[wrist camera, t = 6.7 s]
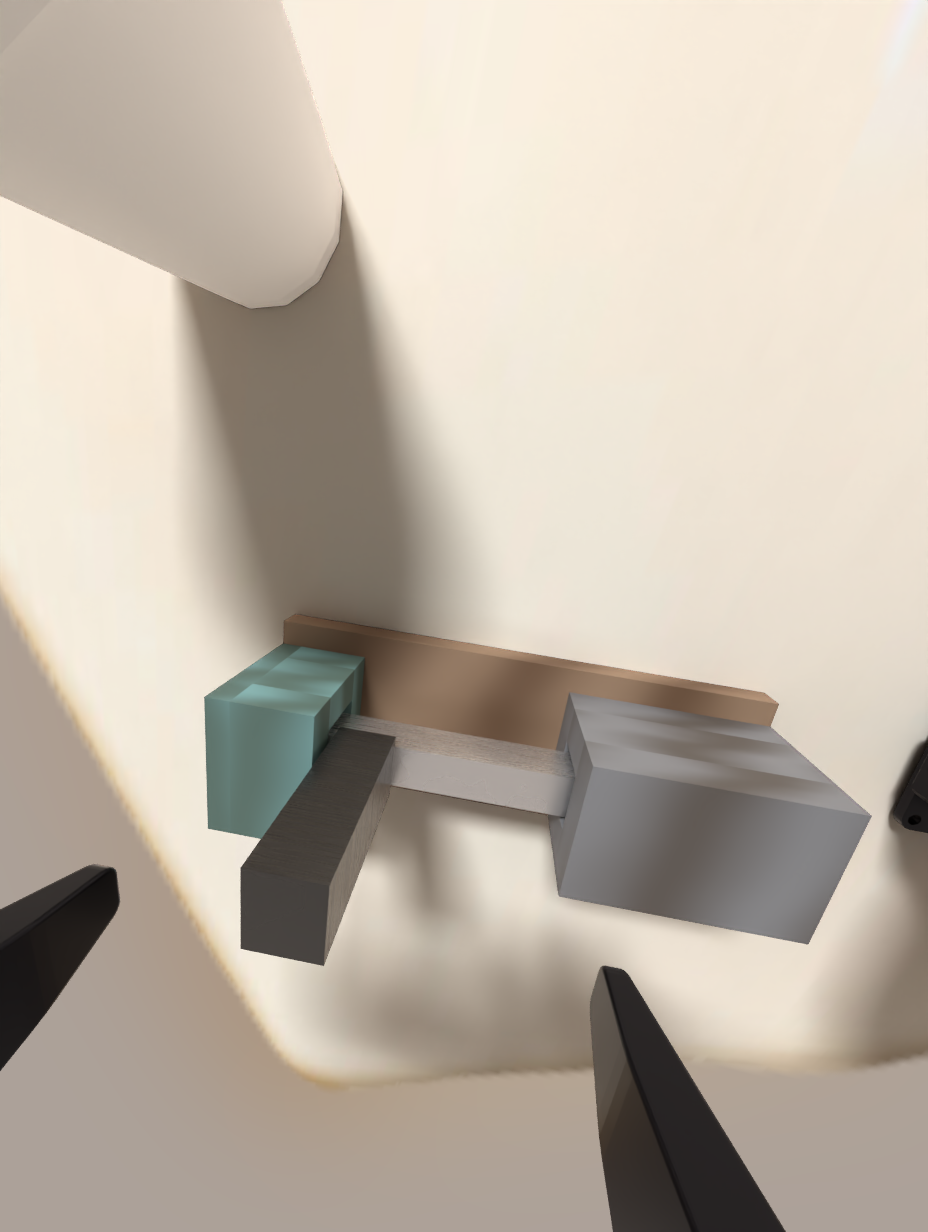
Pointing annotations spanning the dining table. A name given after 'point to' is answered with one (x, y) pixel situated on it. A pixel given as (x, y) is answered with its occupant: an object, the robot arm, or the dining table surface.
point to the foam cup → (172, 138)
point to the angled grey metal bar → (372, 819)
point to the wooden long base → (601, 756)
